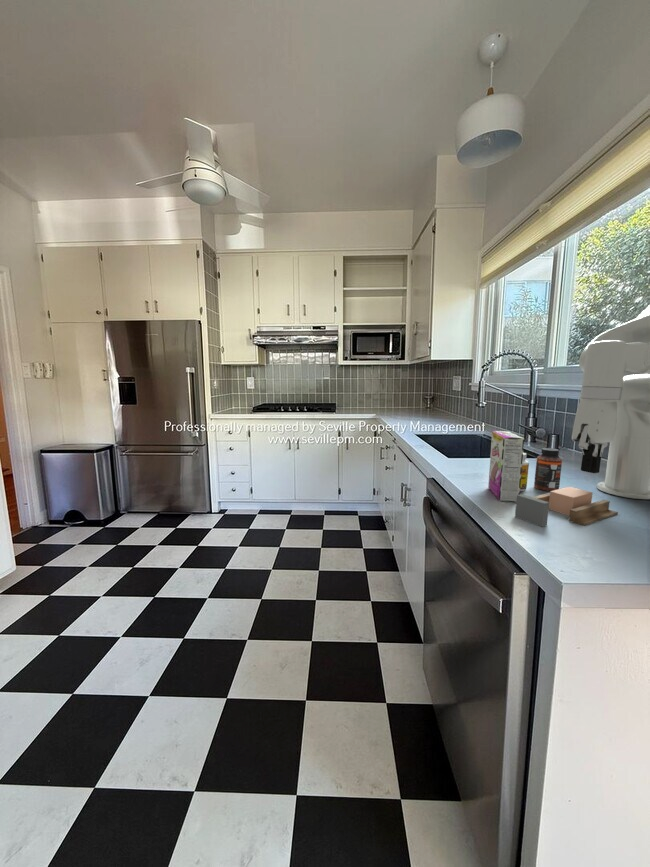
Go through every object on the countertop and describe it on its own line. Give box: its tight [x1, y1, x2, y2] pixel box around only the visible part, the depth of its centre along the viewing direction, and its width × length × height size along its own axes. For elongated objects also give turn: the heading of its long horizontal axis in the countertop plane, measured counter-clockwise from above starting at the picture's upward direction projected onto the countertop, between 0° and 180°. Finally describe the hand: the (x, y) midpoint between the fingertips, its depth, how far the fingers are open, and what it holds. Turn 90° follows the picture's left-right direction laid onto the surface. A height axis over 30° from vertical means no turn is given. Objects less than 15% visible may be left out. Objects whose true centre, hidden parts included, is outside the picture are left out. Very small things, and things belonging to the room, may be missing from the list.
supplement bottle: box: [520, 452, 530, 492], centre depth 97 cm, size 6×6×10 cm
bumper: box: [514, 493, 550, 528], centre depth 74 cm, size 2×6×5 cm, turn 28°
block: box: [549, 486, 594, 516], centre depth 81 cm, size 8×5×4 cm, turn 118°
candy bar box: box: [487, 430, 525, 503], centre depth 91 cm, size 11×5×16 cm, turn 169°
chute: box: [532, 492, 618, 526], centre depth 81 cm, size 14×13×2 cm
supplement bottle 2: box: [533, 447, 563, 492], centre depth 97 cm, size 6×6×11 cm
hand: (589, 471), depth 84 cm, fingers closed
